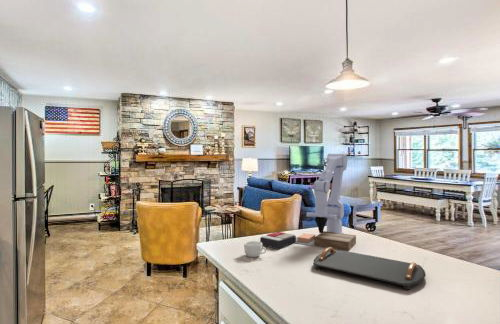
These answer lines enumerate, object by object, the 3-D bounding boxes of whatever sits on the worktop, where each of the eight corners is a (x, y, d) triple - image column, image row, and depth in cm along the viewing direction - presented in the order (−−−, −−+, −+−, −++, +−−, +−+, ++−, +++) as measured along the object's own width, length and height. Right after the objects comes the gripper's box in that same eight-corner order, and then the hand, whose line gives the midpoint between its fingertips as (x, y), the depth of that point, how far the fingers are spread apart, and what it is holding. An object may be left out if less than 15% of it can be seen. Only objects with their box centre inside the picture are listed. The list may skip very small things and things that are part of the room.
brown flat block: (323, 239, 165) (323, 231, 165) (355, 243, 157) (355, 235, 157) (314, 245, 153) (314, 237, 153) (348, 250, 145) (348, 242, 145)
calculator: (296, 234, 159) (279, 239, 147) (296, 243, 159) (278, 249, 147) (277, 230, 166) (259, 235, 154) (277, 239, 166) (259, 244, 154)
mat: (301, 235, 173) (301, 234, 173) (323, 238, 166) (323, 237, 166) (289, 242, 159) (289, 241, 159) (312, 246, 153) (312, 245, 153)
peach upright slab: (315, 234, 165) (315, 238, 165) (304, 233, 168) (304, 237, 168) (309, 238, 157) (309, 242, 157) (297, 237, 160) (297, 241, 160)
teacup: (240, 256, 137) (240, 244, 137) (249, 252, 144) (249, 240, 143) (261, 260, 132) (261, 247, 132) (270, 255, 138) (270, 243, 138)
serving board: (430, 274, 118) (430, 257, 118) (418, 296, 100) (418, 276, 100) (329, 254, 142) (329, 240, 141) (305, 269, 123) (305, 253, 123)
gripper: (304, 204, 159) (304, 232, 159) (333, 207, 151) (333, 236, 152) (309, 203, 165) (309, 229, 165) (337, 205, 157) (337, 233, 158)
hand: (321, 232), depth 159 cm, fingers closed
